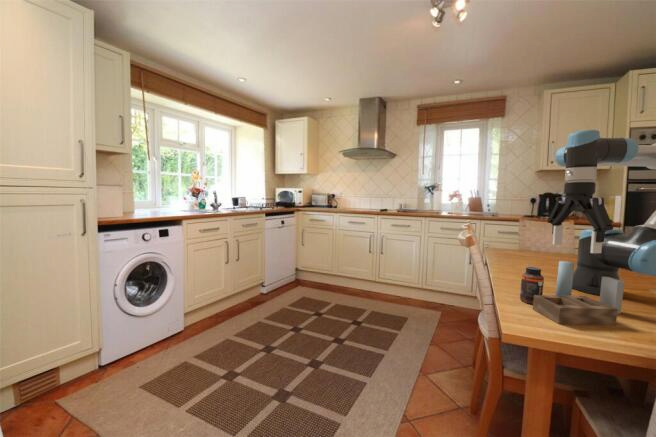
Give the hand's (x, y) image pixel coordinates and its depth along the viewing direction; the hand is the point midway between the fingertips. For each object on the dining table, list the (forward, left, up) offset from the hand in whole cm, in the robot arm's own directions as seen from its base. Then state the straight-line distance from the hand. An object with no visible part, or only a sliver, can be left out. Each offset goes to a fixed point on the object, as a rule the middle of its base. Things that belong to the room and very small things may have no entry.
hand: (575, 248), depth 95 cm
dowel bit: (0, -2, -18) cm, 18 cm away
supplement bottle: (+12, -1, -18) cm, 22 cm away
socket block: (+8, +11, -18) cm, 23 cm away
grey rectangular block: (-8, +6, -18) cm, 21 cm away
